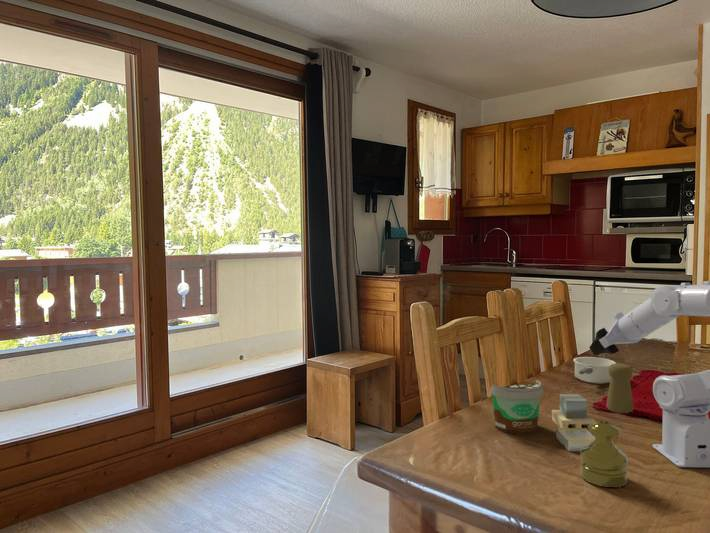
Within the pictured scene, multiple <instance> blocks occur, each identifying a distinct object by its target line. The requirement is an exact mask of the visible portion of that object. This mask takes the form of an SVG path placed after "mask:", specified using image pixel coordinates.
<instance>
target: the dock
mask: <svg viewBox="0 0 710 533" xmlns="http://www.w3.org/2000/svg"><path fill="white" fill-rule="evenodd" d="M555 429H556V434H555V436H556V439H557V440H558V442H559V443H560V444H561V445H562V444H563V445H564V446H565V447H564V446H563V445H562V446H563V447H564V448H565V450H567V452H580V451H581V449H582V448H584V447H585V446H588V445H589V444H590V443H592V442H593V441H595V436H594V435H593V434H592V433H591V432H590V431H589V430H588V429H587V428H585V427H582V428H572V427H568V428H560V427H556V428H555Z"/></svg>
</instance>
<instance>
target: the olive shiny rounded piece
mask: <svg viewBox="0 0 710 533" xmlns="http://www.w3.org/2000/svg"><path fill="white" fill-rule="evenodd" d="M588 431H589V432H590V433H591V434H592V435H593V436H594V437H595V441H593V442H592V443H590V444H589V445H588V446H585V447H584V448H582V449H581V451H579V453H580V458H581V461H580V463H579V465H580V476H581V478H582V479H583V480H584V479H585V480H584V481H586V482H587V481H589V482H591V483H594V484H597V485H601V486H607V487H619V488H622V487H621V486H623V487H624V485H625V486H626V485H627V484H628V472H629V471H628V469H627V466H628V463H629V459H628V456H627V454H626V453H624V452H623V451H622V450H620V448H619V447H618V446H616V445H615V443H614V442H613V440H614V439H615V438H616V437H618V436H619V435H620V433H621V429H620V428H619V427H618V426H616V425H614V424H612V423H610V422H609V421H607V420H598V421H595V422H594V423H592V424H590V425H589V426H588ZM589 482H588V483H589ZM591 483H590V484H591ZM626 483H627V484H626ZM594 484H593V485H594Z"/></svg>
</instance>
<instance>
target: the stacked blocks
mask: <svg viewBox="0 0 710 533" xmlns="http://www.w3.org/2000/svg"><path fill="white" fill-rule="evenodd" d="M587 410H588V400H587V399H586V398H585V397H583V396H582V395H581V394H561V393H560V394H559V409H551V416H552V417H551V420H552V421H553V422H554V423H555V424H556V425H557V427H558V428H569V426H570V428H587V429H588V426H589V425H590V424H592V423H594V422H596V420H595V419H594V418H593V417H591V416H590V415H589V414H588V411H587ZM582 426H583V427H582Z"/></svg>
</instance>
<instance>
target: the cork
mask: <svg viewBox="0 0 710 533" xmlns="http://www.w3.org/2000/svg"><path fill="white" fill-rule="evenodd" d="M616 363H617V362H616ZM608 372H609V375H610V377H611V379H610V382H609V386H608V393H607V400H606V405H605V407H606V406H607V408H608V409H609V410H608V409H607V410H608V411H610V410H611V411H610V412H613V413H617V414H630V413H629V412H632V411H633V410H634V411H635V409H634V400H633V394H632V393H633V392H632V386H631V378H632V376H633V368H632V367H631V366H630V365H629V364H625V363H620V362H619V363H617V364H611V365H610V366H609V369H608ZM632 413H633V412H632Z"/></svg>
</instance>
